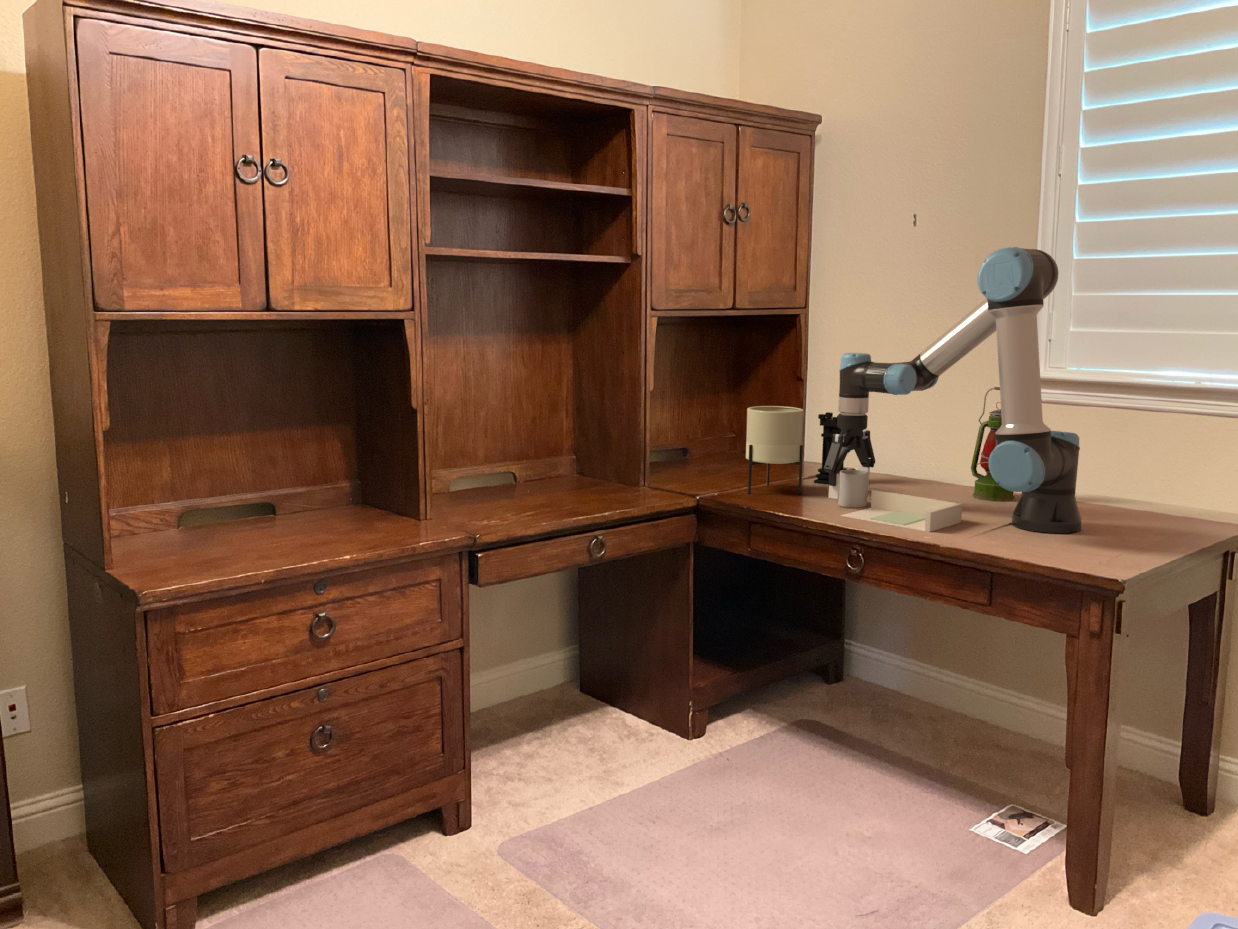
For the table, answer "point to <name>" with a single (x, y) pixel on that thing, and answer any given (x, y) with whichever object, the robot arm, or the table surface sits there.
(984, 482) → the lantern
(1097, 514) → the table surface
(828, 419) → the chess piece
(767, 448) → the planter
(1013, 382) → the robot arm
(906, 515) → the pad
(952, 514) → the tray
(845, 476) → the cup
